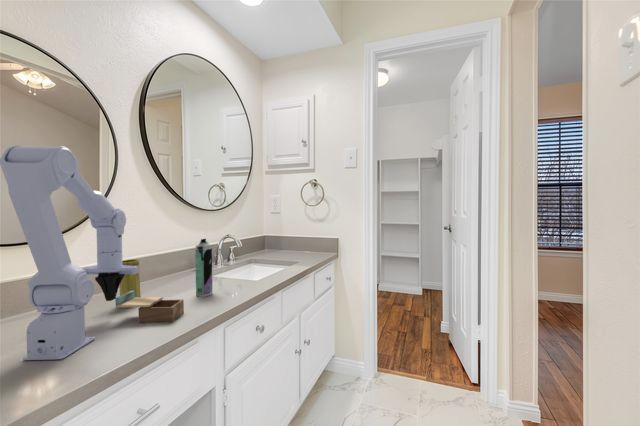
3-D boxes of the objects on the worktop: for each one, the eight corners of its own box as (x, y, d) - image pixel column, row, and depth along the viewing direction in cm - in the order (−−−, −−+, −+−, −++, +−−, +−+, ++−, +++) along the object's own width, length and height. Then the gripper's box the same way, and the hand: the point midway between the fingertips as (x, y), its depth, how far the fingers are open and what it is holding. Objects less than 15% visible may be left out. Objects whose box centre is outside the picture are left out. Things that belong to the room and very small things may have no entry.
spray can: (212, 295, 103) (211, 239, 103) (195, 297, 101) (195, 239, 101) (212, 291, 108) (211, 237, 108) (196, 293, 106) (195, 238, 106)
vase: (130, 308, 90) (129, 262, 90) (113, 307, 92) (112, 262, 91) (145, 302, 96) (145, 259, 96) (130, 301, 97) (129, 258, 97)
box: (172, 322, 79) (172, 307, 79) (138, 323, 79) (138, 308, 79) (183, 313, 86) (183, 299, 86) (152, 313, 86) (152, 300, 86)
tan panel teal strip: (149, 307, 79) (149, 297, 79) (115, 307, 79) (115, 298, 78) (162, 298, 86) (162, 290, 86) (131, 299, 86) (131, 290, 85)
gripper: (144, 249, 86) (145, 294, 86) (93, 249, 85) (94, 295, 86) (129, 252, 79) (130, 302, 79) (74, 253, 78) (75, 303, 78)
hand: (110, 299), depth 82 cm, fingers closed
